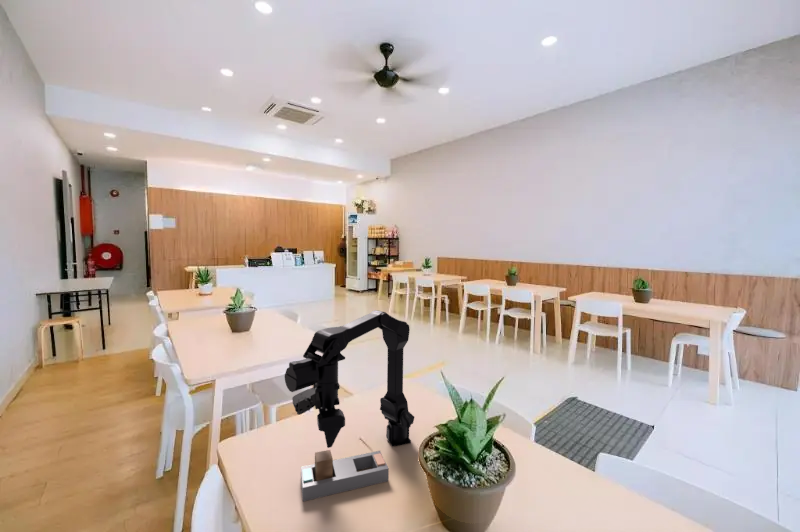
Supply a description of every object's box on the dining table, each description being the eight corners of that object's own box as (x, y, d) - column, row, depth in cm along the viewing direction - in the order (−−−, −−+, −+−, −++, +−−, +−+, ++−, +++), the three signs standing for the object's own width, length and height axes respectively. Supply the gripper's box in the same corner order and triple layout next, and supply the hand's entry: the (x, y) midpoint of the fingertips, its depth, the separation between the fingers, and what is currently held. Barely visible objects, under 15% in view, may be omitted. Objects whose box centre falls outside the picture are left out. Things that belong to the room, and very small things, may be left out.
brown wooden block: (330, 478, 89) (330, 449, 88) (332, 488, 85) (332, 458, 84) (314, 481, 87) (314, 452, 87) (316, 492, 84) (316, 462, 83)
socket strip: (379, 462, 96) (380, 449, 95) (388, 480, 88) (388, 467, 88) (300, 479, 88) (300, 465, 88) (302, 501, 80) (302, 486, 80)
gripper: (292, 369, 91) (293, 423, 93) (296, 400, 74) (296, 466, 75) (333, 365, 95) (333, 417, 96) (345, 393, 78) (345, 456, 79)
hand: (326, 436), depth 87 cm, fingers open, 9 cm apart
